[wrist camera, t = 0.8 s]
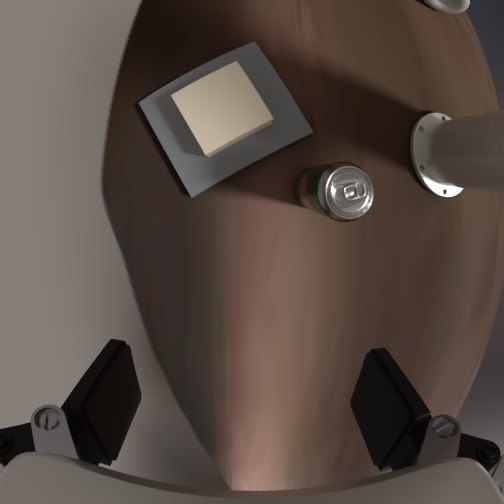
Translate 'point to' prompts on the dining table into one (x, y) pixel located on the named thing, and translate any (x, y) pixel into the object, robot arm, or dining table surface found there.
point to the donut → (448, 5)
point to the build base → (242, 150)
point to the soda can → (335, 190)
